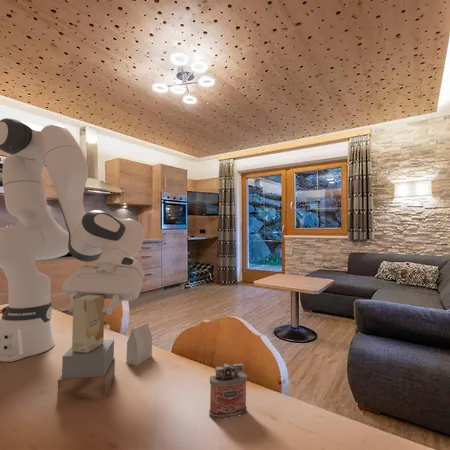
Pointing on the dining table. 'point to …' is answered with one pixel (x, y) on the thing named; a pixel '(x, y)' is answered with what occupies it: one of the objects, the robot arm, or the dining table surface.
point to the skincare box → (88, 323)
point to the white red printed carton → (139, 345)
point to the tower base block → (85, 386)
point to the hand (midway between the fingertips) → (88, 312)
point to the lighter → (228, 392)
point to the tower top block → (88, 361)
